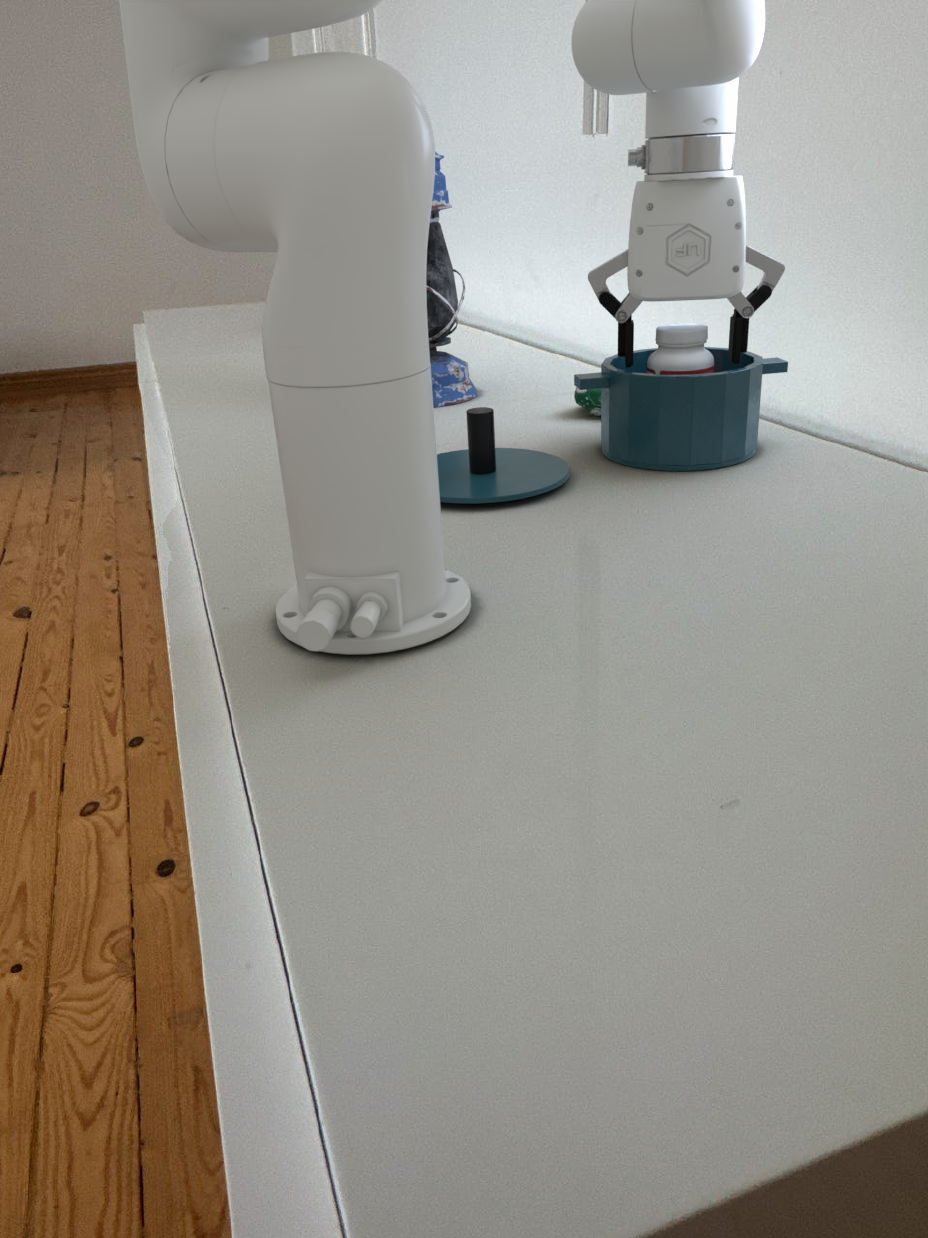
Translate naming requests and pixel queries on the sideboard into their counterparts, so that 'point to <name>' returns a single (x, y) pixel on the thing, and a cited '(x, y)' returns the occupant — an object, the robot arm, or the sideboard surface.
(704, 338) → the pill bottle
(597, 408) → the gaming controller
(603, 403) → the teal cooking pot
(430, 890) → the sideboard surface
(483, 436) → the pot lid
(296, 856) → the sideboard surface
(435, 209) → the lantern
